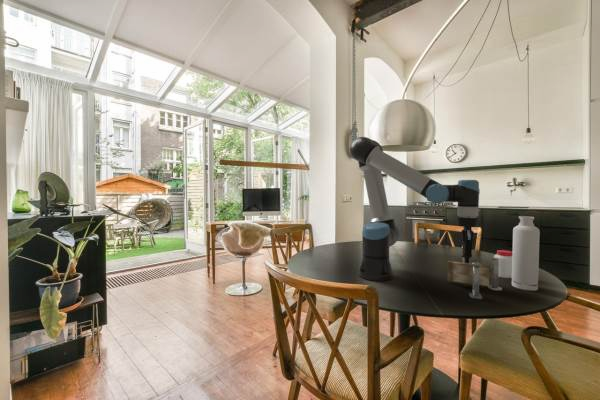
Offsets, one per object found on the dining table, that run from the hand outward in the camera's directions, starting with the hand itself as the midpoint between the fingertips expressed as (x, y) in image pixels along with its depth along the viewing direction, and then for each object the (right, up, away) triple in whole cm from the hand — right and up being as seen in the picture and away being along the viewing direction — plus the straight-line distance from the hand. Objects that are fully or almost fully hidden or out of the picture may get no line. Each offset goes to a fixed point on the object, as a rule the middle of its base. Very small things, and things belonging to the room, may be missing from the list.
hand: (466, 272), depth 114 cm
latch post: (-7, -5, -16) cm, 18 cm away
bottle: (+19, -4, -6) cm, 21 cm away
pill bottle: (+22, -4, +8) cm, 24 cm away
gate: (-2, -3, -5) cm, 6 cm away
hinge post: (+6, -4, -9) cm, 11 cm away
